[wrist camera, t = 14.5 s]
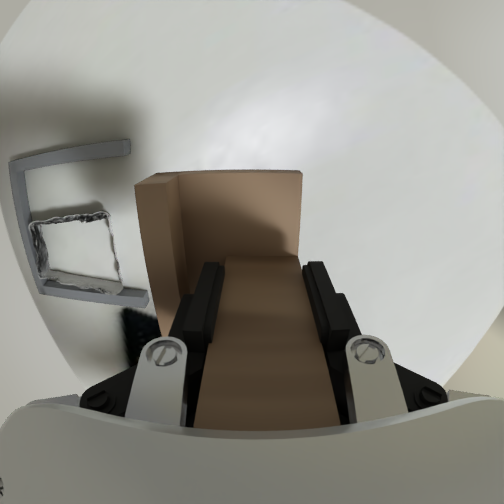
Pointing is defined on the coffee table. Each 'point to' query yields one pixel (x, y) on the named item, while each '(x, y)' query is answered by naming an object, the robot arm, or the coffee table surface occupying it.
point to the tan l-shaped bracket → (240, 293)
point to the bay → (24, 219)
